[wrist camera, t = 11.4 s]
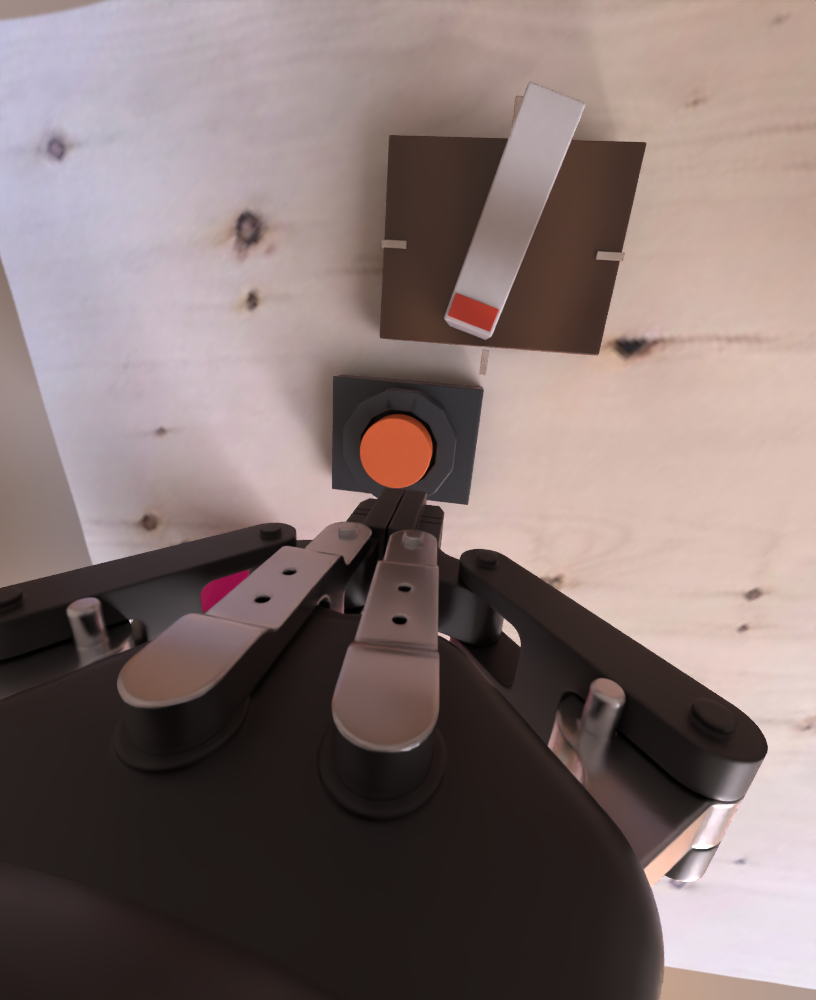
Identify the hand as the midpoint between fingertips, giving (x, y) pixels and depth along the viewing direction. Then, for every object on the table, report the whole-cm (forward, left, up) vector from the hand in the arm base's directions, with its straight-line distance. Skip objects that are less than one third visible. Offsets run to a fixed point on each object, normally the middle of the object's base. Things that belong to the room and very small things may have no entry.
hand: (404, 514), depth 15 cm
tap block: (+1, -11, -16) cm, 19 cm away
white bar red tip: (+1, -11, -13) cm, 17 cm away
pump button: (+2, +1, -12) cm, 13 cm away
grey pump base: (+2, +1, -16) cm, 16 cm away
